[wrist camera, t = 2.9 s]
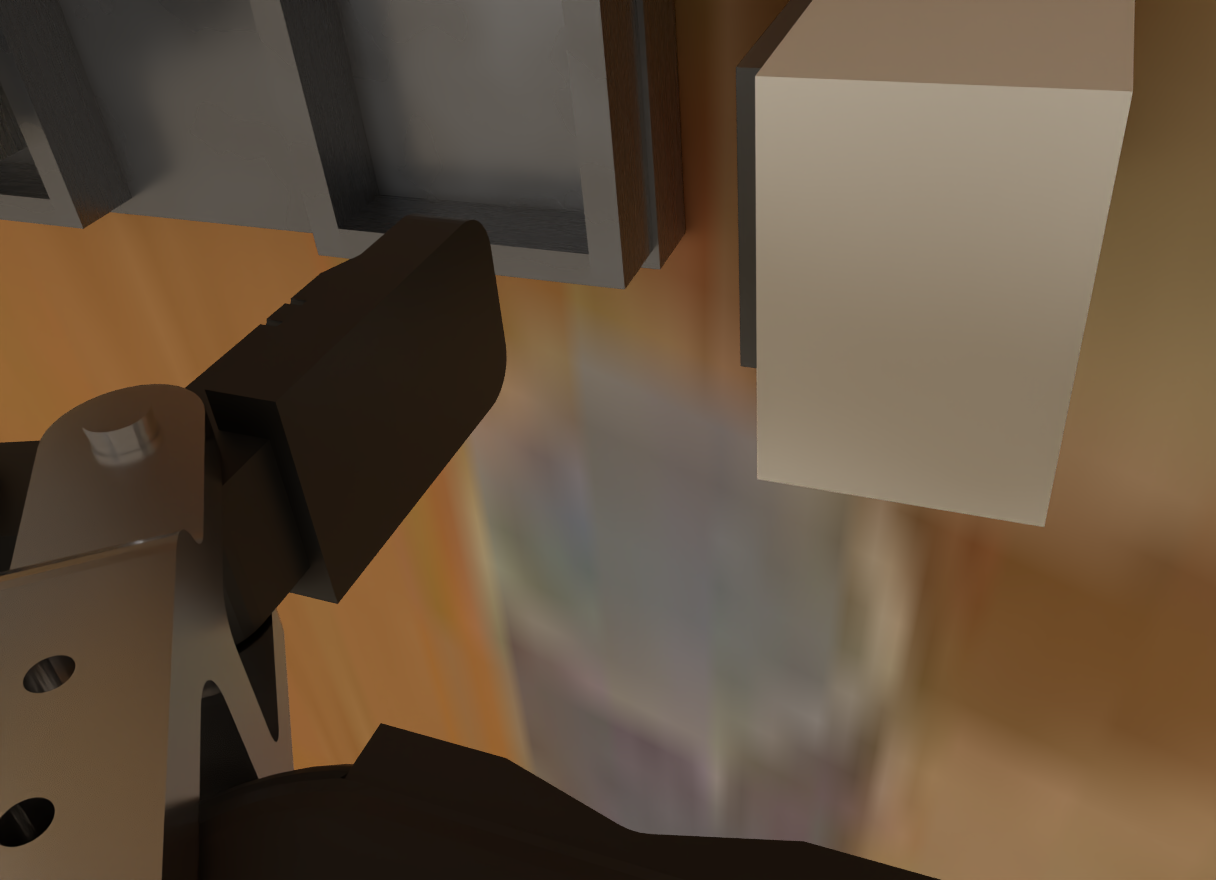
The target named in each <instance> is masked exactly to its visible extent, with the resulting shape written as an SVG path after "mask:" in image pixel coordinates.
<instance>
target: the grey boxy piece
mask: <svg viewBox="0 0 1216 880" xmlns="http://www.w3.org/2000/svg"><path fill="white" fill-rule="evenodd" d="M109 212H116V213H125V214H135V215H144V216H154V217H163V218H173V219H183V220H192V221H202V222H211V223H221V224H230V225H240V226H250V227H259V228H269V229H278V230H288V231H297V232H307V233H313V236H314V239H315V243H316V247H317V250H318V254H319V255H323V256H332V257H341V258H350V259H352V258H354V257H356V256H358V255H360V254H362V253H363V252H364V251H365V250H366V249H367V248H369V247H370V246H371V245H372V244H373V243H374V242H375V241H377V240H378V239H379V238H380V237H381V236H382V235H384V234H385V233H386V232H387V231H388V230H389V229H391V228H392V227H393V226H394V225H395V224H396V223H397V222H399V221H400V220H401V219H402V218H403V217H405V216H406V215H409V214H424V215H433V216H443V217H453V218H463V219H473V220H477V221H479V222H480V223H481V224H482V225H483V226H484V228H485V230H486V232H487V234H488V237H489V240H490V245H491V251H492V257H493V264H494V271H495V275H501V276H510V277H519V278H528V279H537V280H546V281H555V282H564V283H573V284H581V285H590V286H599V287H608V288H617V289H625V288H626V287H627V286H628V284H629V283H630V281H631V280H632V279H633V277H634V276H635V274H636V273H637V272H638V270H639V269H640V267H642V268H652V269H661V267H662V266H663V265H664V263H665V262H666V260H667V259H668V257H669V256H670V254H671V253H672V251H673V250H674V248H675V247H676V246H677V244H678V243H679V241H680V240H681V238H682V237H683V235H684V234H685V215H684V194H683V173H682V153H681V132H680V111H679V90H678V69H677V48H676V28H675V7H674V0H0V219H2V220H11V221H20V222H29V223H38V224H47V225H56V226H65V227H73V228H82V229H84V228H85V227H87V226H88V225H90V224H92V223H93V222H95V221H96V220H98V219H99V218H101V217H103V216H104V215H106V214H107V213H109Z"/></svg>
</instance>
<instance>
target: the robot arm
mask: <svg viewBox="0 0 1216 880" xmlns="http://www.w3.org/2000/svg"><path fill="white" fill-rule="evenodd" d="M505 370H506V344H505V337H504V330H503V324H502V317H501V310H500V304H499V297H498V290H497V284H496V277H495V271H494V264H493V257H492V251H491V245H490V240H489V237H488V234H487V232H486V230H485V228H484V226H483V225H482V224H481V223H480V222H479V221H477V220H473V219H463V218H453V217H443V216H433V215H424V214H409V215H406V216H405V217H403V218H402V219H401V220H400V221H399V222H397V223H396V224H395V225H394V226H393V227H392V228H391V229H389V230H388V231H387V232H386V233H385V234H384V235H382V236H381V237H380V238H379V239H378V240H377V241H375V242H374V243H373V244H372V245H371V246H370V247H369V248H367V249H366V250H365V251H364V252H363V253H362V254H360V255H358V256H356V257H354V258H352V259H350V260H348V261H346V262H344V263H341V264H339V265H337V266H335V267H333V268H331V269H329V270H327V271H325V272H323V273H321V274H319V275H318V276H317V277H316V278H315V279H313V280H312V281H311V282H310V283H309V284H307V285H306V286H305V287H304V288H303V289H302V290H300V291H299V292H298V293H297V294H296V295H294V296H293V297H292V298H291V304H284V305H283V306H281V307H280V308H279V309H278V310H277V311H276V312H274V313H273V314H272V315H271V316H270V317H268V318H267V323H266V325H261V324H260V325H259V326H258V327H257V328H255V329H254V330H253V331H252V332H251V333H250V334H248V335H247V336H246V337H245V338H244V339H242V340H241V341H240V342H239V343H238V344H237V345H235V346H234V347H233V348H232V349H231V350H229V351H228V352H227V353H226V354H225V355H223V356H222V357H221V358H220V359H219V360H218V361H216V362H215V363H214V364H213V365H212V366H210V367H209V368H208V369H207V370H206V371H205V372H203V373H202V374H201V375H200V376H199V377H197V378H196V379H195V380H194V381H193V382H192V383H190V384H189V385H188V386H187V387H186V388H182V387H179V386H173V385H166V384H150V385H139V386H133V387H127V388H123V389H119V390H115V391H112V392H109V393H106V394H103V395H100V396H98V397H95V398H93V399H91V400H88V401H86V402H84V403H82V404H80V405H78V406H77V407H75V408H73V409H72V410H70V411H69V412H67V413H65V414H64V415H63V416H61V417H60V418H59V419H58V420H57V421H55V422H54V423H53V424H52V425H51V426H50V427H49V428H48V429H47V431H46V432H45V433H44V435H43V436H42V438H41V440H40V441H25V442H5V443H0V880H940V879H936V878H932V877H929V876H925V875H922V874H918V873H915V872H911V871H907V870H904V869H900V868H897V867H893V866H890V865H886V864H882V863H879V862H875V861H872V860H868V859H865V858H861V857H857V856H854V855H850V854H847V853H843V852H839V851H836V850H832V849H829V848H825V847H822V846H818V845H814V844H811V843H807V842H804V841H783V840H762V839H741V838H720V837H699V836H678V835H657V834H646V833H639V832H635V831H632V830H629V829H627V828H625V827H623V826H621V825H619V824H617V823H615V822H613V821H612V820H610V819H608V818H607V817H605V816H603V815H602V814H600V813H598V812H597V811H595V810H593V809H591V808H590V807H588V806H586V805H585V804H583V803H581V802H580V801H578V800H576V799H574V798H573V797H571V796H569V795H568V794H566V793H564V792H563V791H561V790H559V789H557V788H556V787H554V786H552V785H551V784H549V783H547V782H546V781H544V780H542V779H540V778H539V777H537V776H535V775H534V774H532V773H530V772H529V771H527V770H525V769H523V768H522V767H520V766H518V765H517V764H515V763H513V762H512V761H510V760H508V759H506V758H503V757H500V756H496V755H493V754H489V753H485V752H482V751H478V750H475V749H471V748H468V747H464V746H460V745H457V744H453V743H450V742H446V741H443V740H439V739H435V738H432V737H428V736H425V735H421V734H418V733H414V732H410V731H407V730H403V729H400V728H396V727H392V726H389V725H385V724H382V723H381V724H380V725H379V727H378V728H377V730H376V731H375V733H374V734H373V736H372V737H371V739H370V740H369V742H368V743H367V745H366V746H365V748H364V749H363V751H362V752H361V754H360V755H359V757H358V758H357V760H356V761H355V763H354V764H341V765H329V766H316V767H309V768H304V769H298V770H294V768H293V755H292V740H291V726H290V712H289V698H288V684H287V670H286V656H285V641H284V631H283V626H282V623H281V620H280V617H279V614H278V611H277V609H276V607H277V606H278V605H279V604H280V603H281V602H282V600H283V599H284V598H285V597H286V596H287V594H288V593H289V592H290V593H295V594H299V595H303V596H307V597H311V598H315V599H319V600H324V601H328V602H332V603H336V604H338V603H339V602H340V600H341V599H342V598H343V596H344V595H345V594H346V593H347V591H348V590H349V589H350V587H351V586H352V585H353V584H354V582H355V581H356V580H357V579H358V577H359V576H360V575H361V573H362V572H363V571H364V570H365V568H366V567H367V566H368V564H369V563H370V562H371V561H372V559H373V558H374V557H375V556H376V554H377V553H378V552H379V550H380V549H381V548H382V547H383V545H384V544H385V543H386V541H387V540H388V539H389V538H390V536H391V535H392V534H393V533H394V531H395V530H396V529H397V527H398V526H399V525H400V524H401V522H402V521H403V520H404V518H405V517H406V516H407V515H408V513H409V512H410V511H411V510H412V508H413V507H414V506H415V504H416V503H417V502H418V501H419V499H420V498H421V497H422V495H423V494H424V493H425V492H426V490H427V489H428V488H429V487H430V485H431V484H432V483H433V481H434V480H435V479H436V478H437V476H438V475H439V474H440V472H441V471H442V470H443V469H444V467H445V466H446V465H447V464H448V462H449V461H450V460H451V458H452V457H453V456H454V455H455V453H456V452H457V451H458V449H459V448H460V447H461V446H462V444H463V443H464V442H465V441H466V439H467V438H468V437H469V435H470V434H471V433H472V432H473V430H474V429H475V428H476V426H477V425H478V424H479V423H480V421H481V420H482V419H483V417H484V416H485V415H486V414H487V412H488V411H489V410H490V409H491V407H492V406H493V404H494V403H495V402H496V400H497V398H498V396H499V393H500V391H501V388H502V385H503V381H504V376H505Z"/></svg>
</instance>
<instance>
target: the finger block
mask: <svg viewBox="0 0 1216 880" xmlns="http://www.w3.org/2000/svg"><path fill="white" fill-rule="evenodd" d="M1134 18H1135V0H790V1H789V2H788V4H787V5H786V6H785V7H784V9H783V10H782V11H781V12H780V14H779V15H778V16H777V17H776V18H775V20H774V21H773V22H772V23H771V25H770V26H769V27H768V28H767V30H766V31H765V32H764V33H763V35H762V36H761V37H760V38H759V39H758V41H757V42H756V43H755V44H754V46H753V47H752V48H751V49H750V51H749V52H748V53H747V54H746V56H745V57H744V58H743V59H742V60H741V62H740V63H739V64H738V65H737V67H736V103H737V166H738V229H739V292H740V355H741V366H744V367H751V368H757V479H760V480H766V481H772V482H778V483H784V484H790V485H796V486H802V487H808V488H814V489H820V490H826V491H832V492H838V493H844V494H850V495H856V496H862V497H867V498H873V499H879V500H885V501H891V502H897V503H903V504H909V505H915V506H921V507H927V508H933V509H939V510H945V511H951V512H957V513H963V514H969V515H975V516H981V517H987V518H993V519H999V520H1005V521H1011V522H1017V523H1023V524H1029V525H1035V526H1041V527H1044V525H1045V520H1046V516H1047V511H1048V506H1049V501H1050V496H1051V491H1052V486H1053V481H1054V476H1055V471H1056V466H1057V462H1058V457H1059V452H1060V447H1061V442H1062V437H1063V432H1064V427H1065V422H1066V417H1067V413H1068V408H1069V403H1070V398H1071V393H1072V388H1073V383H1074V378H1075V373H1076V368H1077V363H1078V359H1079V354H1080V349H1081V344H1082V339H1083V334H1084V329H1085V324H1086V319H1087V314H1088V310H1089V305H1090V300H1091V295H1092V290H1093V285H1094V280H1095V275H1096V270H1097V265H1098V260H1099V256H1100V251H1101V246H1102V241H1103V236H1104V231H1105V226H1106V221H1107V216H1108V211H1109V207H1110V202H1111V197H1112V192H1113V187H1114V182H1115V177H1116V172H1117V167H1118V162H1119V157H1120V153H1121V148H1122V143H1123V138H1124V133H1125V128H1126V123H1127V118H1128V113H1129V108H1130V104H1131V99H1132V94H1133V66H1134Z"/></svg>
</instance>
